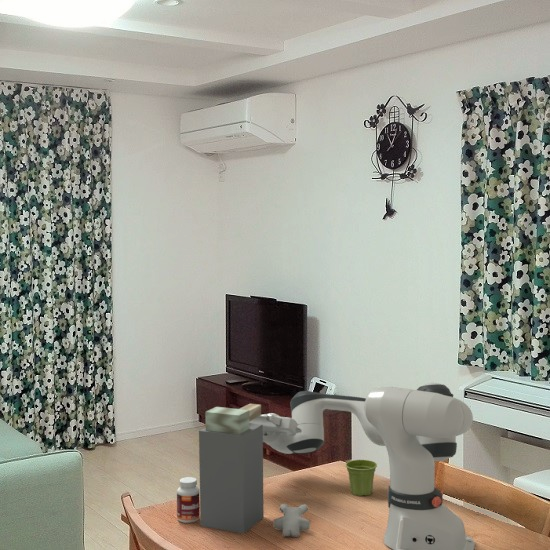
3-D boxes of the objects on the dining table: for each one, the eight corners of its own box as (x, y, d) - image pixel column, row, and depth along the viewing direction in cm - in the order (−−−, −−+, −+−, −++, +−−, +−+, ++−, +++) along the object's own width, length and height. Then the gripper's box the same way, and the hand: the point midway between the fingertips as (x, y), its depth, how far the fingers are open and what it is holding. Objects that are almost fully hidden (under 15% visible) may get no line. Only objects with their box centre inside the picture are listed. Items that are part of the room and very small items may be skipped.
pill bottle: (180, 525, 214) (180, 485, 213) (174, 517, 220) (173, 478, 219) (202, 521, 217) (202, 481, 216) (195, 513, 222) (195, 474, 221)
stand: (263, 517, 219) (262, 424, 217) (243, 533, 208) (242, 435, 206) (221, 510, 224) (220, 419, 222) (200, 526, 213) (198, 430, 211)
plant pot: (339, 494, 236) (339, 465, 235) (355, 485, 244) (355, 457, 243) (367, 500, 231) (367, 471, 230) (382, 491, 238) (382, 462, 238)
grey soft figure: (271, 524, 204) (276, 497, 219) (272, 542, 205) (277, 514, 220) (308, 525, 203) (311, 497, 218) (309, 543, 204) (311, 515, 219)
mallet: (271, 416, 225) (271, 398, 225) (239, 434, 207) (239, 415, 207) (239, 412, 230) (239, 395, 229) (205, 430, 211) (205, 411, 211)
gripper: (301, 443, 234) (285, 430, 222) (239, 435, 242) (220, 422, 231) (305, 422, 236) (289, 408, 225) (243, 415, 245) (225, 401, 233)
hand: (253, 415), depth 228 cm, fingers open, 8 cm apart
